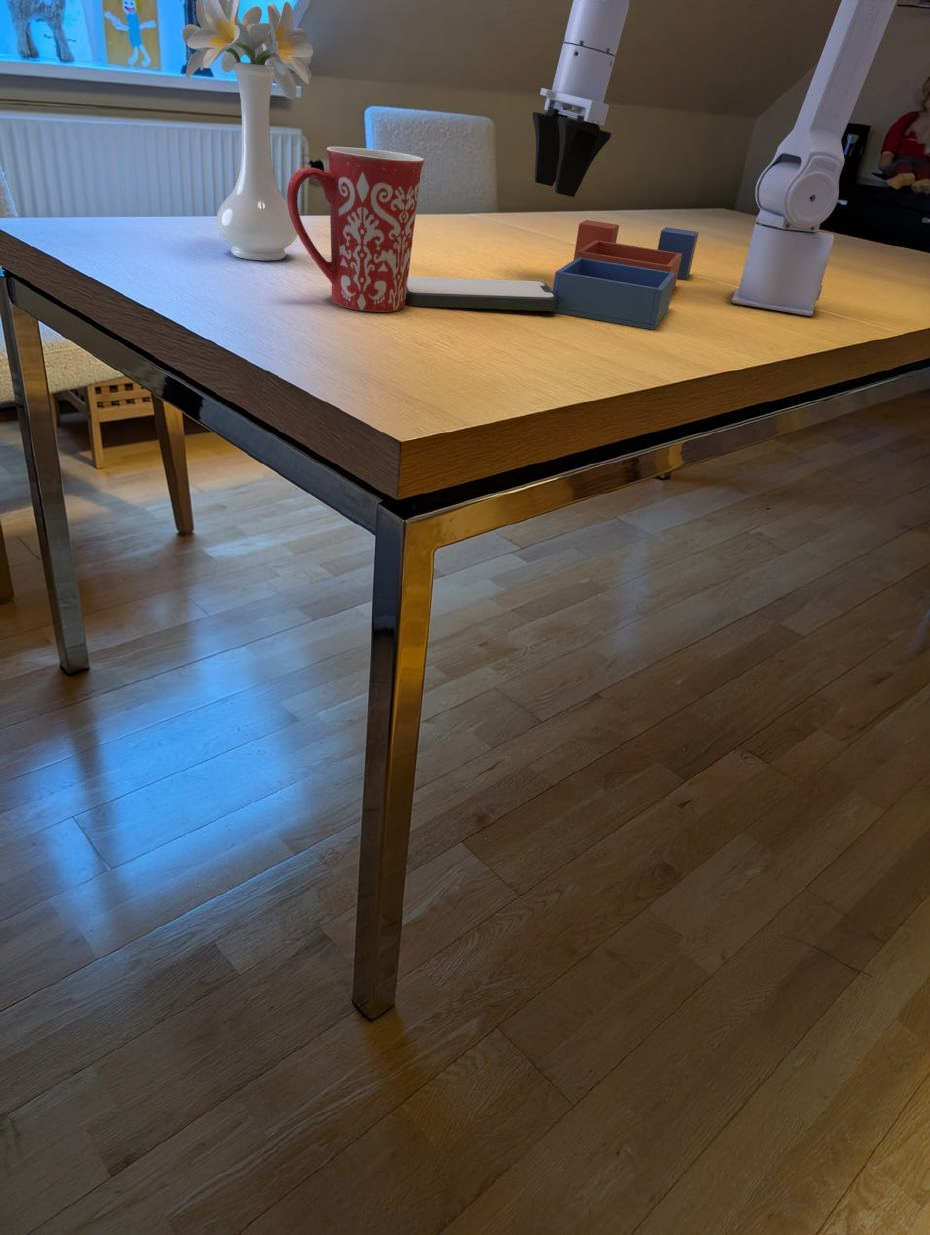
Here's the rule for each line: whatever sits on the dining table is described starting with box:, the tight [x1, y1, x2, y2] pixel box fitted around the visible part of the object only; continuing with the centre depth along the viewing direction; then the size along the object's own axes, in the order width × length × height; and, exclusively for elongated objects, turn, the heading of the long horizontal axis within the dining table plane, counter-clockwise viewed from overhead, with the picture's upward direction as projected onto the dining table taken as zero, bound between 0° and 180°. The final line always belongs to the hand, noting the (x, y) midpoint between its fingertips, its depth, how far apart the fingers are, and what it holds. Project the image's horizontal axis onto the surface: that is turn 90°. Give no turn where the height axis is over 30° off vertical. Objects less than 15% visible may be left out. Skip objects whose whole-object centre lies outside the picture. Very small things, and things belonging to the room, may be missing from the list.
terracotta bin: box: [576, 240, 682, 291], centre depth 108 cm, size 11×11×4 cm
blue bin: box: [549, 257, 676, 331], centre depth 95 cm, size 11×11×4 cm
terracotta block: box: [573, 219, 620, 260], centre depth 116 cm, size 4×4×6 cm
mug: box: [286, 146, 425, 313], centre depth 84 cm, size 13×9×14 cm
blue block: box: [656, 226, 700, 281], centre depth 118 cm, size 4×4×6 cm
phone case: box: [405, 275, 558, 312], centre depth 93 cm, size 9×2×16 cm
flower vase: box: [182, 0, 314, 262], centre depth 97 cm, size 13×18×25 cm
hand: (553, 189), depth 100 cm, fingers open, 7 cm apart
